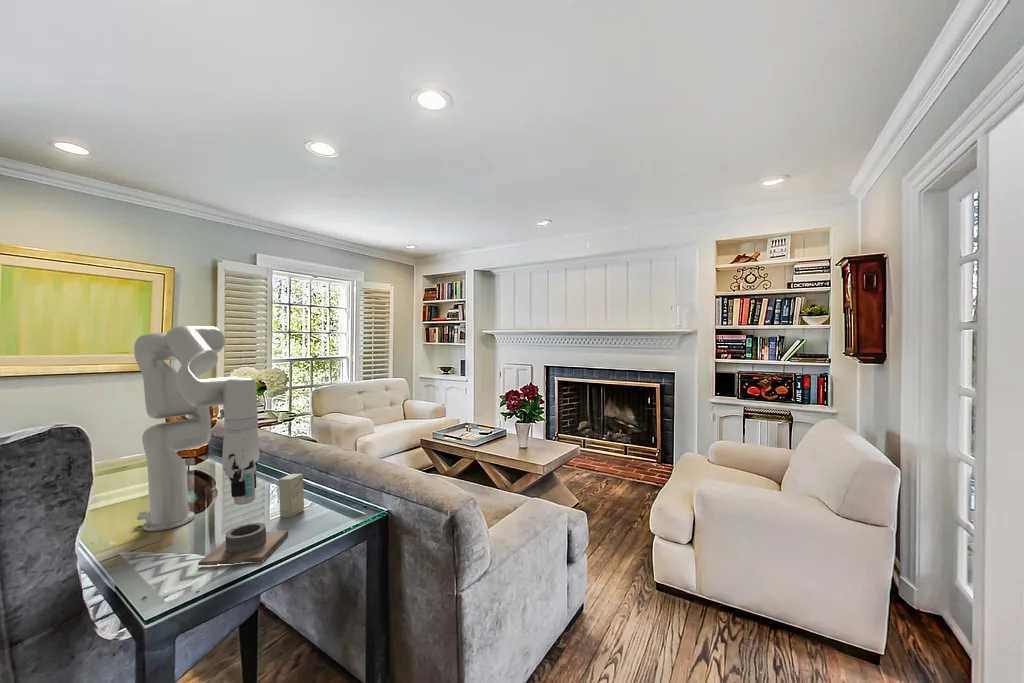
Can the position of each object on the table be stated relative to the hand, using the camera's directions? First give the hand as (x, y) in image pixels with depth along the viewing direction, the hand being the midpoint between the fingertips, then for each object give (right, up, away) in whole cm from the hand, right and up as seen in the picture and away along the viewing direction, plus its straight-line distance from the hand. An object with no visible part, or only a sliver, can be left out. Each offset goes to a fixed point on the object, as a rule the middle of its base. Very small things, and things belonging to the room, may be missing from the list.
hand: (244, 491), depth 112 cm
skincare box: (0, -16, +24) cm, 29 cm away
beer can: (0, -3, 0) cm, 3 cm away
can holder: (+1, -16, 0) cm, 16 cm away
